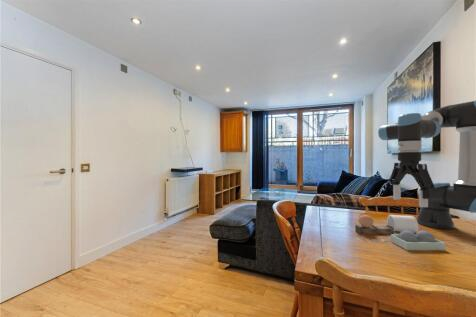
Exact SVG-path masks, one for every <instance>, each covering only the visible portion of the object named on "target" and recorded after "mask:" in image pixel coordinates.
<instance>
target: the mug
mask: <svg viewBox="0 0 476 317" xmlns="http://www.w3.org/2000/svg"><path fill="white" fill-rule="evenodd" d="M387 225H389V226H391V227H394V232H397V233H398V232H400V233H401V232H402V231H411V232H413V233H414V234H415V233H416V234H417V233H418V229H419V223H417V218H416V217H415V216H413V215H398V214H397V215H396V214H388V215H387V218H386V226H387Z"/></svg>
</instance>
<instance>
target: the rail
mask: <svg viewBox="0 0 476 317" xmlns="http://www.w3.org/2000/svg"><path fill="white" fill-rule="evenodd" d="M354 229H355V233H357V234H358V235H362V234H364V235H365V234H366V235H378V234H379V235H391V234H394V232H395V231H394V227H391V226H389V225H387V224H386V225H374V224H373V225H372V226H371V227H368V228H366V227H363V226H362V225H358V224H355V228H354Z"/></svg>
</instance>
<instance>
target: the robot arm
mask: <svg viewBox="0 0 476 317" xmlns="http://www.w3.org/2000/svg"><path fill="white" fill-rule="evenodd" d="M442 128H444V129H445V128H455V130H456V131H457V132H459V145H458V146H459V148H458V151H459V152H458V168H457V169H458V171H457V179H456V181H454V182H452V183H453V185H451V184H450V182H433V180H432V177H431V175H430V173H429V170H428V165H427V163H420V162H421V161H422V152H421V151H422V139H429V138H434V137H436V136H438V135H439V134H440V133H441V130H442ZM377 131H378V137H379V139H380V140H381V141H396V140H397V151H398V153H397V161H398V162H394V164H393V168H392V171H391V175H390V177H389V179H388V183H391V185H392V193H393V195H392V199H393V200H394V201H395V200H396V201H397V200H402V199H401V198H402V197H401V195H402V192H401V187H402V186H401V182H402V181H403V179H404V178H405V176H406V175H410V176H412V177H413V178H414V180H415V182H416V183H417V185H418V186H419V187H420V189H419V192H418V201H419V202H418V207H419V208H420V210H419V212H418V214H417V216H416V220H417V223H418V225H422V226H425V227H430V228H434V229H440V230H441V229H442V230H443V229H444V230H452V229H455V223H454V221H453V218H452V215H451V210H450V209H452V210H458V211H463V212H468V213H472V214H473V213H474V214H476V100H472V101H467V102H462V103H457V104H455V103H454V104H449V105H445V106H443V107H439V108H436V109H433V110H430V111H427V112H425V113H424V114H423V115H422V114H421V113H419V112H413V113H412V112H411V113H404V114H400V115H399V116H398V118H397V122H395V123H391V124H385V125H382V126H380V127H379V128H378V130H377Z"/></svg>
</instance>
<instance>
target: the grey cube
mask: <svg viewBox="0 0 476 317" xmlns="http://www.w3.org/2000/svg"><path fill="white" fill-rule="evenodd" d="M398 235H399V238H400V239H402V240H404V241H406V242H417V236H416V234H415V233H413V232H411V231H402V232H400V233H399V234H398Z"/></svg>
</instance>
